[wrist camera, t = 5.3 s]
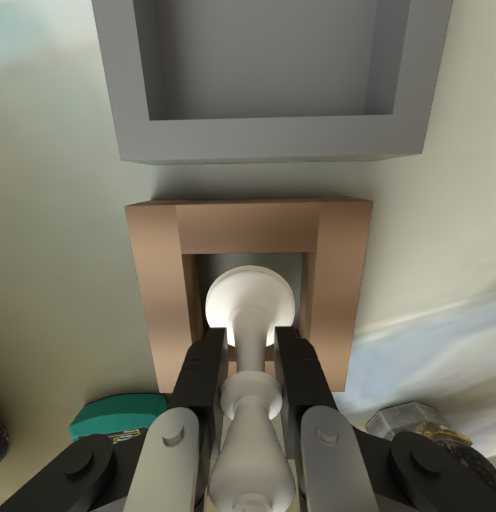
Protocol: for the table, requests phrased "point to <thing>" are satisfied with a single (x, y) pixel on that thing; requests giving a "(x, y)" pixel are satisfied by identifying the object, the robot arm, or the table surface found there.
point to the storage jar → (3, 442)
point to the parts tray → (270, 78)
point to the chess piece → (251, 392)
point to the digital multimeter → (118, 416)
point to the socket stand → (250, 241)
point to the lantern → (432, 435)
